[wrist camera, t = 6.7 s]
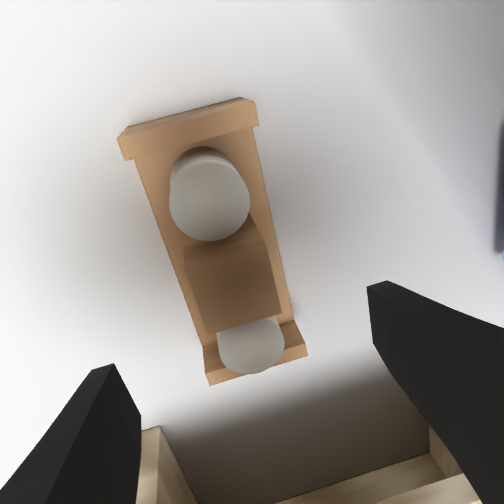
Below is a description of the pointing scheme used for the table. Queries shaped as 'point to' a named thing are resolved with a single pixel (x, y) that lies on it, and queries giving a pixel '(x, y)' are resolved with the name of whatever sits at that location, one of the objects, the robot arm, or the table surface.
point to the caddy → (219, 234)
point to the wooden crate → (328, 498)
